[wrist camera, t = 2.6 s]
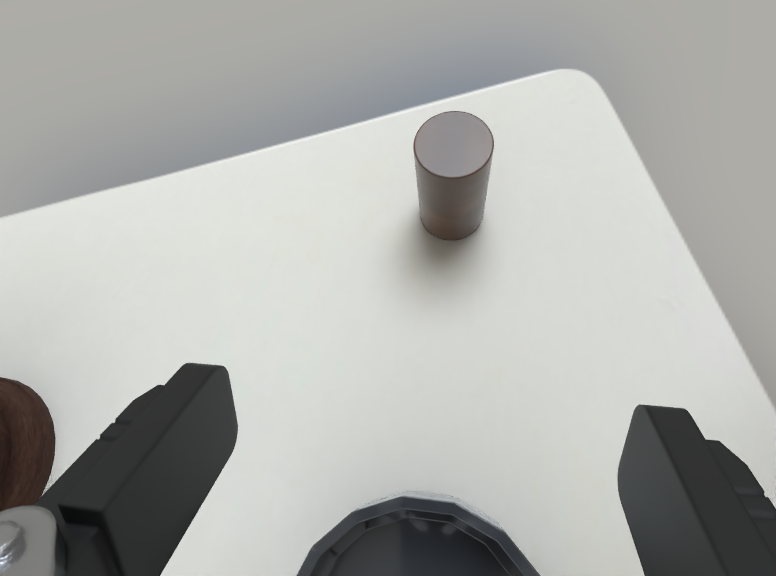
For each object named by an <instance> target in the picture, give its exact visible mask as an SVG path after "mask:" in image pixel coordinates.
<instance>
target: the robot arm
mask: <svg viewBox="0 0 776 576" xmlns="http://www.w3.org/2000/svg"><path fill="white" fill-rule="evenodd" d="M237 433H238V424H237V417H236V412H235V406H234V401H233V395H232V390H231V384H230V379H229V374H228V371H227V369H226V368H225V367H224V366H220V365H208V364H197V363H186V364H184V365H183V366H182V367H181V368H180V369H179V370H178V371H177V372H176V373H175V374H174V375H173V377H172V378H171V379H170V380H169V381H168V382H167V383H166V384H165V385H157V386H156V387H154V388H153V389H151V390H149V391H148V392H146V393H144V394H143V395H141V396H140V397H138V398H136V399H135V400H133V401H132V402H131V403H130V405H129V406H128V407H127V408H126V409H125V410H124V411H123V412H122V413H121V414H120V415H119V416H118V417H117V418H116V421H115V423H111V424H110V425H109V426H108V428H107V429H106V430H105V431H104V432H103V433H102V434H101V435H100V439H99V440H98V439H96V440H95V441H94V442H93V443H92V444H91V445H90V446H89V447H88V448H87V450H86V451H85V452H84V453H83V454H82V455H81V456H80V457H79V458H78V459H77V460H76V461H75V462H74V463H73V464H72V465H71V466H70V467H69V468H68V469H67V470H66V471H65V473H64V474H63V475H62V476H61V477H60V478H59V479H58V480H57V481H56V482H55V483H54V484H53V485H52V486H51V487H50V488H49V489H48V490H47V491H46V492H45V493H44V494H43V496H42V497H41V498H40V499H39V500H38V501H37V502H36V503H35V504H34V505H29V506H20V507H14V508H11V509H7V510H4V511H2V512H0V576H160V575H161V573H162V571H163V569H164V568H165V566H166V564H167V563H168V561H169V559H170V558H171V556H172V554H173V553H174V551H175V549H176V547H177V546H178V544H179V542H180V541H181V539H182V537H183V536H184V534H185V532H186V530H187V529H188V527H189V525H190V524H191V522H192V520H193V519H194V517H195V515H196V513H197V512H198V510H199V508H200V507H201V505H202V503H203V502H204V500H205V498H206V496H207V495H208V493H209V491H210V490H211V488H212V486H213V485H214V483H215V481H216V480H217V478H218V476H219V474H220V473H221V471H222V469H223V468H224V466H225V464H226V463H227V461H228V459H229V457H230V456H231V454H232V452H233V449H234V447H235V443H236V439H237ZM618 491H619V496H620V501H621V504H622V507H623V510H624V513H625V516H626V519H627V522H628V525H629V528H630V531H631V534H632V537H633V540H634V544H635V547H636V550H637V553H638V556H639V559H640V562H641V565H642V568H643V571H644V574H645V576H776V509H775V507H774V506H773V504H772V503H771V501H770V499H769V498H768V497H765V496H764V490H763V489H762V487H761V486H760V484H759V483H758V481H757V480H756V478H755V477H754V475H753V474H752V472H751V471H750V469H749V468H748V466H747V465H746V464H745V463H744V462H743V461H742V460H741V459H739V458H738V457H737V456H736V455H735V454H734V453H732V452H731V451H730V450H729V449H728V448H727V447H725V446H724V445H723V444H722V443H721V442H720V441H715V440H705V438H704V437H703V435H702V433H701V431H700V430H699V428H698V426H697V425H696V423H695V421H694V420H693V418H692V416H691V415H690V413H689V412H688V411H687V410H686V409H683V408H673V407H662V406H651V405H638V406H637V407H636V408H635V410H634V413H633V416H632V420H631V423H630V427H629V430H628V434H627V438H626V441H625V445H624V449H623V452H622V456H621V459H620V463H619V468H618Z"/></svg>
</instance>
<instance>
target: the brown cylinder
mask: <svg viewBox="0 0 776 576" xmlns="http://www.w3.org/2000/svg"><path fill="white" fill-rule="evenodd" d="M493 148H494V140H493V136H492V133H491V131H490V129H489V128H488V126H487V125H486V124H485V123H484V122H483V121H482V120H481V119H479V118H478V117H476V116H474V115H472V114H469V113H466V112H460V111H450V112H444V113H441V114H438V115H436V116H434V117H432V118H430V119H429V120H427V121H426V122H425V123H424V124H423V125H422V126H421V127H420V129H419V130H418V132H417V134H416V136H415V139H414V157H415V167H416V177H417V187H418V196H419V206H420V216H421V220H422V223H423V225H424V226H425V228H426V229H427V230H428V231H429V232H430V233H431V234H433V235H434V236H436V237H438V238H441V239H445V240H458V239H462V238H464V237H467V236H469V235H470V234H472V233H473V232H474V231H475V230H476V229H477V228H478V227H479V225H480V223H481V221H482V218H483V213H484V206H485V200H486V194H487V187H488V181H489V174H490V168H491V161H492V155H493Z"/></svg>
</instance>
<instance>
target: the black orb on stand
mask: <svg viewBox="0 0 776 576" xmlns="http://www.w3.org/2000/svg"><path fill="white" fill-rule="evenodd" d="M54 450H55V434H54V427H53V421H52V418H51V416H50V413H49V410H48V408H47V406H46V405H45V403H44V402H43V400H42V399H41V397H40V396H39V395H38V394H37V393H36V392H35V391H33V390H32V389H31V388H30V387H28V386H26V385H24V384H22V383H21V382H19V381H15V380H10V379H6V378H1V377H0V512H2V511H4V510H7V509H11V508H14V507H20V506H29V505H34V504H35V503H36V502H37V501H38V499H39V498H40V496H41V494H42V492H43V490H44V488H45V485H46V483H47V480H48V478H49V475H50V472H51V468H52V463H53V459H54Z"/></svg>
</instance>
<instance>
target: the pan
mask: <svg viewBox="0 0 776 576" xmlns="http://www.w3.org/2000/svg"><path fill="white" fill-rule="evenodd" d="M297 576H540V575H539V574H538V572H537V571H536V570H535V569H534V567H533V566H532V565H531V564H530V562H529V561H528V560H527V559H526V557H525V556H524V555H523V554H522V552H521V551H520V550H519V549H518V547H517V546H516V545H515V544H514V542H513V541H512V540H511V539H510V537H509V536H508V535H507V534H506V532H505V531H504V530H503V529H502V527H501V526H500V525H499V524H498V522H496V521H495V520H493V519H492V518H490V517H488V516H487V515H485V514H483V513H481V512H480V511H478V510H476V509H475V508H473V507H471V506H469V505H468V504H466V503H464V502H463V501H461V500H459V499H457V498H456V497H453V496H447V495H438V494H430V493H422V492H414V491H406V492H403V493H399V494H396V495H393V496H390V497H387V498H383V499H380V500H377V501H374V502H371V503H367V504H365V505H363V506H361V507H360V508H358V509H356V510H355V511H353V512H351V513H350V514H349V515H348V516H347V517H346V518H344V519H343V520H342V521H341V522H340V523H339V524H338V525H336V526H335V527H334V528H333V529H332V530H331V531H329V532H328V533H327V534H326V535H325V536H324V537H323V538H321V539H320V540H319V541H318V542H317V543H316V544H314V545H313V547H312V548H311V549H310V551H309V553H308V555H307V557H306V559H305V561H304V563H303V565H302V566H301V568H300V570H299V572H298V574H297Z"/></svg>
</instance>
